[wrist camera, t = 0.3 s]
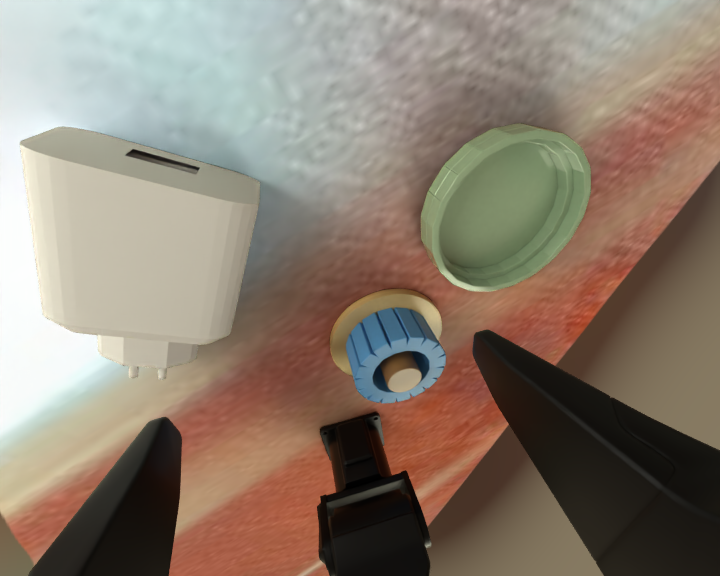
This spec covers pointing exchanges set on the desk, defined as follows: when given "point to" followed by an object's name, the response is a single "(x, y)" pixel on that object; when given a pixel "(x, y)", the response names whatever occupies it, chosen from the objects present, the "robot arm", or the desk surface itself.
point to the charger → (136, 244)
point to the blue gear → (392, 352)
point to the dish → (505, 206)
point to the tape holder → (399, 366)
